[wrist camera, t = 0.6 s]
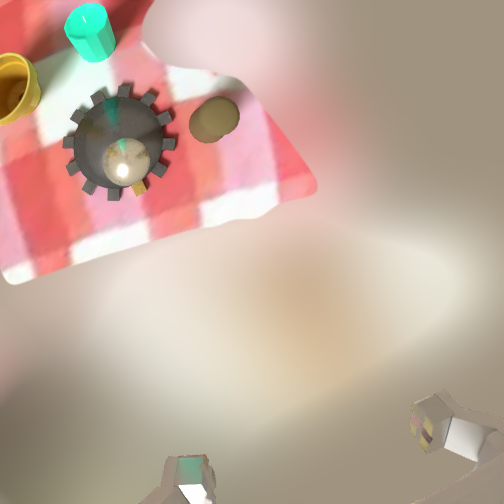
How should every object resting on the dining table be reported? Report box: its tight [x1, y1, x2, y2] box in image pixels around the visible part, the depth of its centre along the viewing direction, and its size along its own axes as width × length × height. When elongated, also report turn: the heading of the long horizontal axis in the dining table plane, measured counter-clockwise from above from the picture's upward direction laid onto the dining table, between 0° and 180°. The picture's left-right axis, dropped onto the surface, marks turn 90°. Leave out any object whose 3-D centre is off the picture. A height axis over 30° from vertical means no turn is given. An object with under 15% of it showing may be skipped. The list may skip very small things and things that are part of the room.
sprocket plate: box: [63, 86, 175, 201], centre depth 42 cm, size 18×18×1 cm
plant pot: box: [0, 52, 41, 126], centre depth 31 cm, size 10×10×10 cm
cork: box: [189, 97, 240, 143], centre depth 41 cm, size 6×6×11 cm
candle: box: [64, 3, 116, 62], centre depth 32 cm, size 6×6×12 cm
